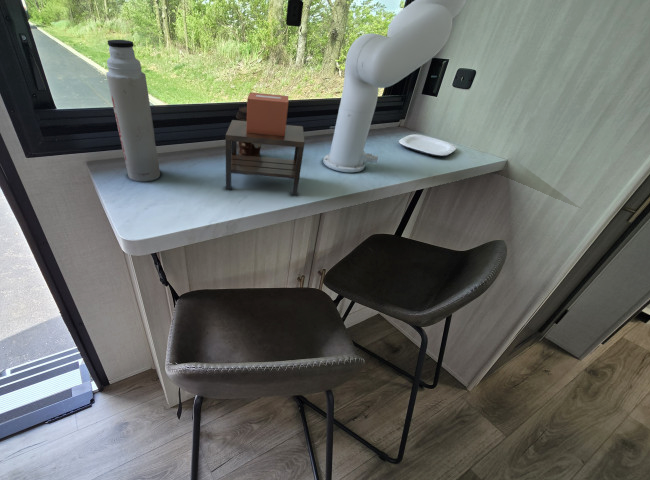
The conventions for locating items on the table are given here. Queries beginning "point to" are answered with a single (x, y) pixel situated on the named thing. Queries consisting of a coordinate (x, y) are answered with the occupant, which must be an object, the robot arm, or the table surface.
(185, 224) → the table surface
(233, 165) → the slatted side table
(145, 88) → the thermos bottle
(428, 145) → the plate
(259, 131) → the tissue box
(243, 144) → the coffee cup
